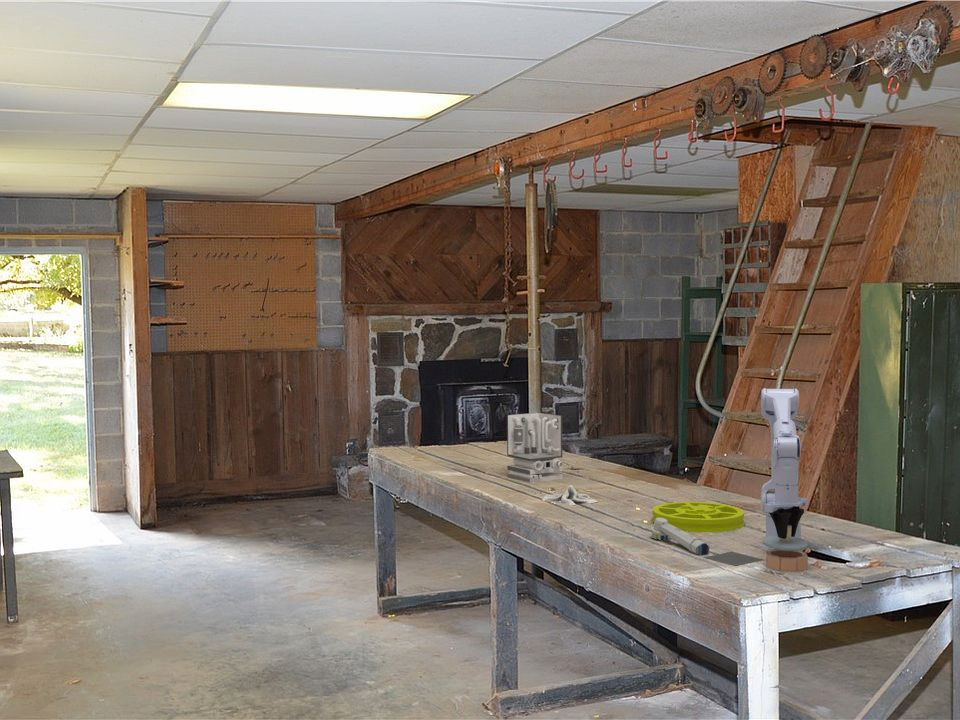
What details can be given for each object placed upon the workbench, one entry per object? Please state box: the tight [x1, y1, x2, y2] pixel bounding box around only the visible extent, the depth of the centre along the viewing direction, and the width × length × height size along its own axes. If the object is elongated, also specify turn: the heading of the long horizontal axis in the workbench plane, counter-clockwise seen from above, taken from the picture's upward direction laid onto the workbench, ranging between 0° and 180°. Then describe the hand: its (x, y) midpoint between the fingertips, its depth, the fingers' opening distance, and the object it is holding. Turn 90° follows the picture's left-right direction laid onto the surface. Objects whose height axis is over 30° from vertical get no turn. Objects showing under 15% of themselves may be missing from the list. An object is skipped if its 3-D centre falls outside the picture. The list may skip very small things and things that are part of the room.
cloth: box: [541, 484, 598, 506], centre depth 341 cm, size 22×19×6 cm
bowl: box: [764, 549, 809, 572], centre depth 251 cm, size 10×10×4 cm
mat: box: [703, 551, 764, 567], centre depth 259 cm, size 11×11×1 cm
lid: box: [762, 525, 809, 551], centre depth 251 cm, size 11×11×5 cm
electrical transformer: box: [506, 412, 563, 484], centre depth 389 cm, size 16×19×25 cm
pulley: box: [652, 501, 745, 533], centre depth 306 cm, size 28×28×5 cm
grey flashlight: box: [650, 518, 710, 556], centre depth 275 cm, size 5×7×25 cm
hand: (786, 537), depth 251 cm, fingers closed on lid, 3 cm apart
